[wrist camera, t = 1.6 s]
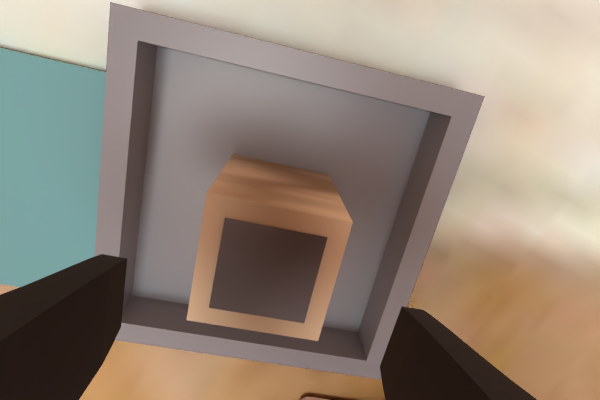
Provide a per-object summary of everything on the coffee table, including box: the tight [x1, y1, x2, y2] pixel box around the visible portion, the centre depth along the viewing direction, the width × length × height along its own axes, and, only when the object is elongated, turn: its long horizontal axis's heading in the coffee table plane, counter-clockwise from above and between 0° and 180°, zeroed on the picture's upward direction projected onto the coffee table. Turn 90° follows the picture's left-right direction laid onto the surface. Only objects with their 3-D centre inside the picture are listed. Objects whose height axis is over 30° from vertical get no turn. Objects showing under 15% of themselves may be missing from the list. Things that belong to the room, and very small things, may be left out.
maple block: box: [187, 154, 353, 341], centre depth 14 cm, size 4×4×6 cm
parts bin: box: [94, 2, 485, 380], centre depth 16 cm, size 14×14×2 cm
